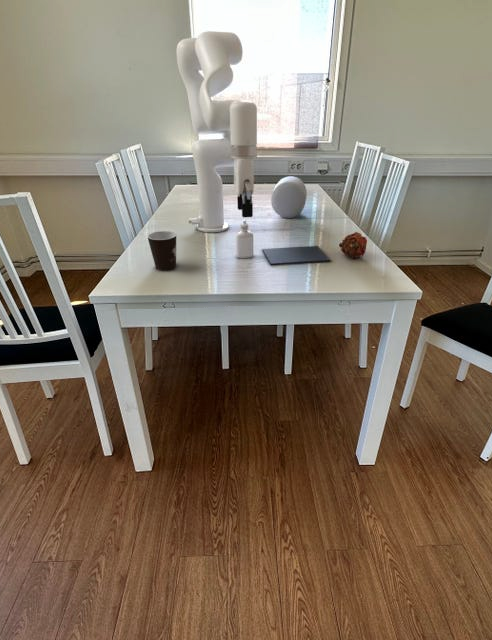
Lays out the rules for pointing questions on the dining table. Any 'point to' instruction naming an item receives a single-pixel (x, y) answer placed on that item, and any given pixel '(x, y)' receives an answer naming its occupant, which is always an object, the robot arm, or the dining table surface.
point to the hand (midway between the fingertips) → (244, 213)
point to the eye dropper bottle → (244, 242)
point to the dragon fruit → (354, 245)
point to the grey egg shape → (289, 197)
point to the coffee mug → (163, 249)
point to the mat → (295, 255)
